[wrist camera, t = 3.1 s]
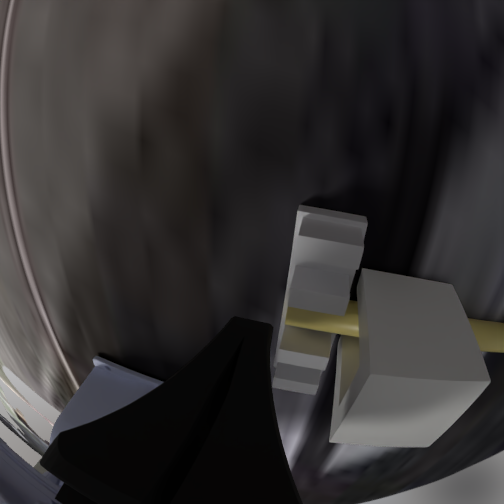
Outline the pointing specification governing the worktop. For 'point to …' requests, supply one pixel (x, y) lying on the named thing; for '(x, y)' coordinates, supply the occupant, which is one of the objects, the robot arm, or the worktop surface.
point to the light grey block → (405, 364)
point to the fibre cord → (486, 332)
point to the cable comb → (316, 291)
